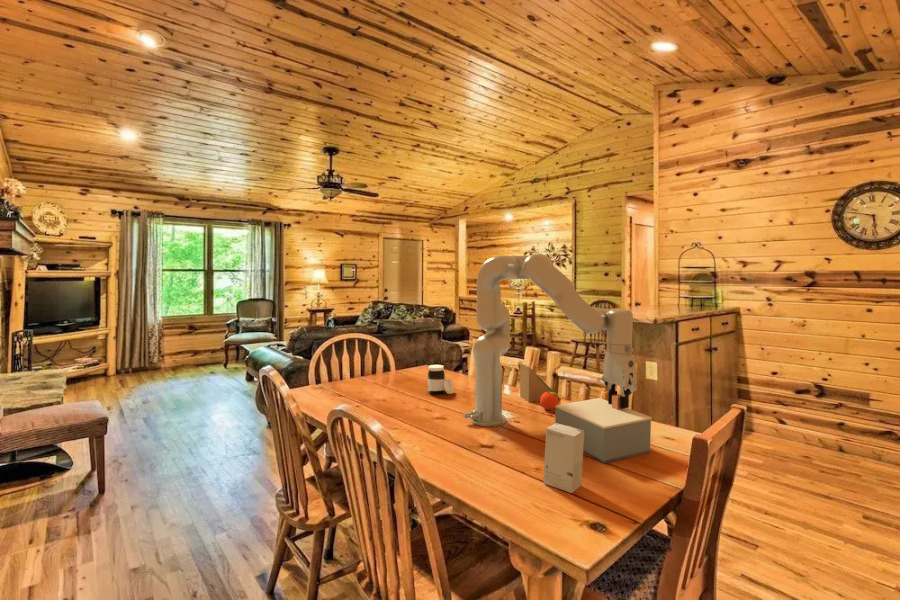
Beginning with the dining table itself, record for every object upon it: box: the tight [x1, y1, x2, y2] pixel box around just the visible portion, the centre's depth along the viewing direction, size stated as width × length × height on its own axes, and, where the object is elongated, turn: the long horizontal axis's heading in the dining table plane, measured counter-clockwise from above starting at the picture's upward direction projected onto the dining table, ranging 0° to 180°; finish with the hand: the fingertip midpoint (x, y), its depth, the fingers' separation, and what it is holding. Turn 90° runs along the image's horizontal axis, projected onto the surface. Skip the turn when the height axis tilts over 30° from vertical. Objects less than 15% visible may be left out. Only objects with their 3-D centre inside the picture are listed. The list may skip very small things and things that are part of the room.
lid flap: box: [555, 393, 653, 429], centre depth 141 cm, size 18×22×5 cm
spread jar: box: [427, 364, 454, 395], centre depth 202 cm, size 12×11×12 cm
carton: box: [554, 407, 652, 465], centre depth 141 cm, size 18×22×10 cm
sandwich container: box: [519, 362, 562, 403], centre depth 191 cm, size 9×15×15 cm, turn 107°
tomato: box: [539, 391, 559, 411], centre depth 176 cm, size 8×7×7 cm
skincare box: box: [543, 423, 584, 494], centre depth 116 cm, size 8×6×15 cm
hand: (618, 405), depth 144 cm, fingers open, 4 cm apart
